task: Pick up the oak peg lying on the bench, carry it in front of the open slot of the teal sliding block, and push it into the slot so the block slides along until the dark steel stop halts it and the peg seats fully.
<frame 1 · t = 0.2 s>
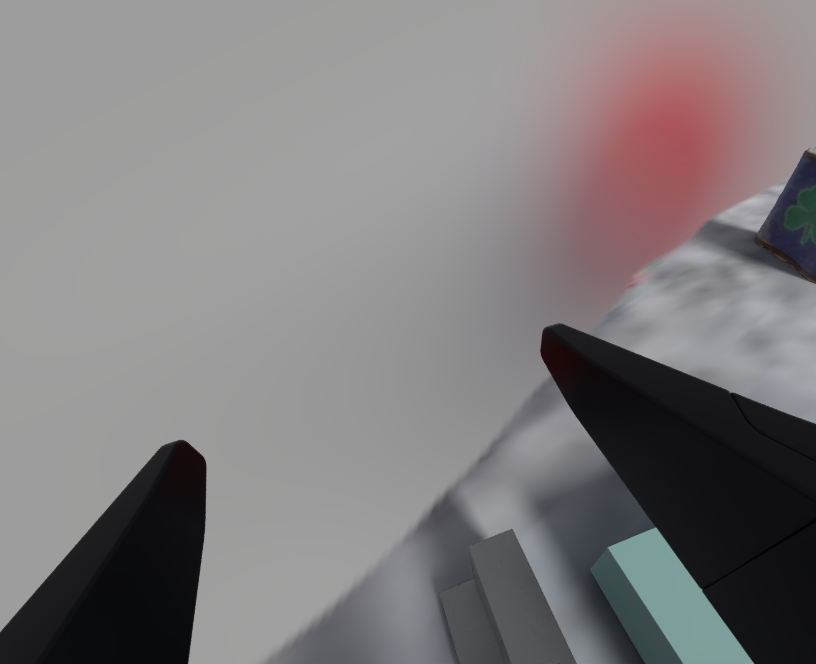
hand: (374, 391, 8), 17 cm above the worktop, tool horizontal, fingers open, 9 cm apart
flask: (794, 260, 32), on the worktop
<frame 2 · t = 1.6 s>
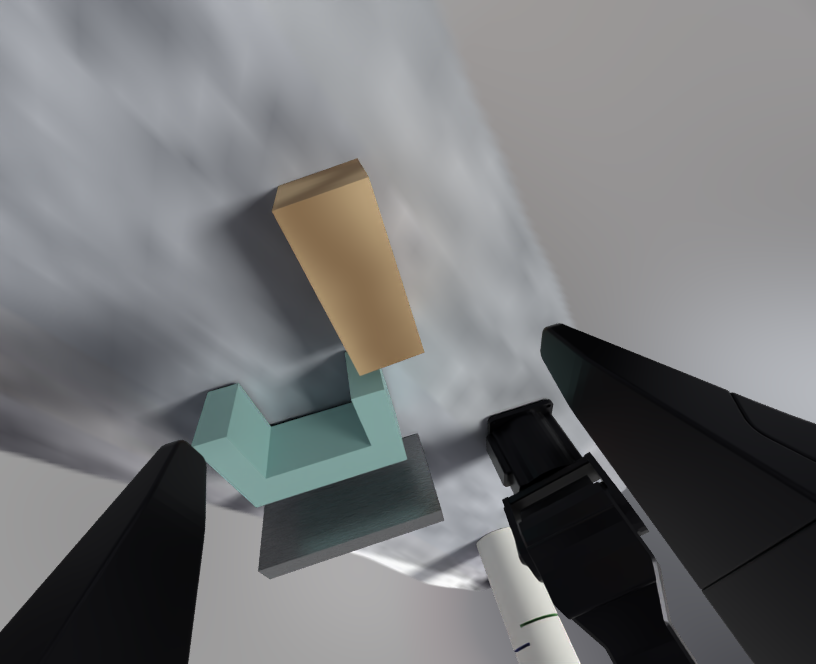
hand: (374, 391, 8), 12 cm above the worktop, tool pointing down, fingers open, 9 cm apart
slot block: (313, 427, 23), point 2 cm above the worktop, slide at 0.0 cm
oak peg: (354, 260, 19), on the worktop
steel stop: (347, 462, 31), on the worktop
cylindrical container: (497, 536, 53), on the worktop
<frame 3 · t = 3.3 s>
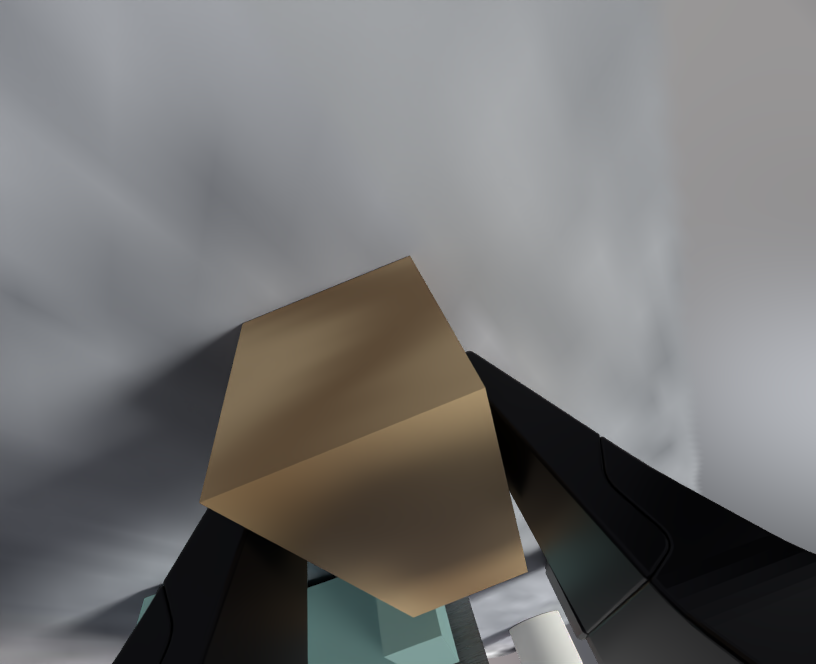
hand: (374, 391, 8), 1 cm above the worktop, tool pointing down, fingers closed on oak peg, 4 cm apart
slot block: (316, 632, 15), point 2 cm above the worktop, slide at 0.0 cm
oak peg: (396, 413, 11), on the worktop, touching gripper
steel stop: (362, 608, 22), on the worktop
cylindrical container: (533, 619, 45), on the worktop
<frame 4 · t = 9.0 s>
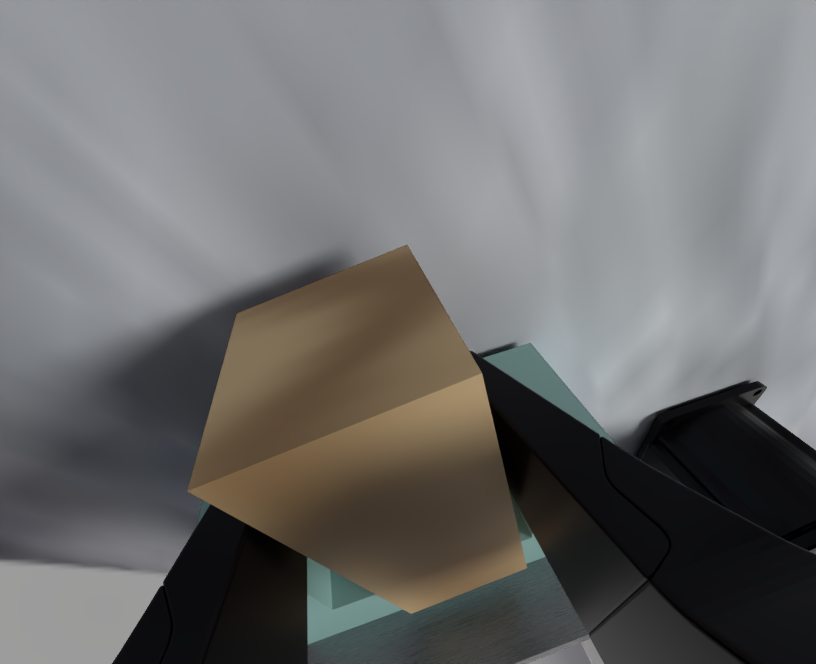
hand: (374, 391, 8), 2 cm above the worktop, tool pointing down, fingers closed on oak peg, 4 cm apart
slot block: (414, 500, 12), point 2 cm above the worktop, slide at 4.0 cm, touching oak peg, steel stop
oak peg: (394, 407, 10), point 1 cm above the worktop, touching gripper, slot block
steel stop: (418, 495, 17), on the worktop
when the fingers open (2 cm above the worktop, at t = 10.1 s): oak peg drops 2 cm, on the worktop.
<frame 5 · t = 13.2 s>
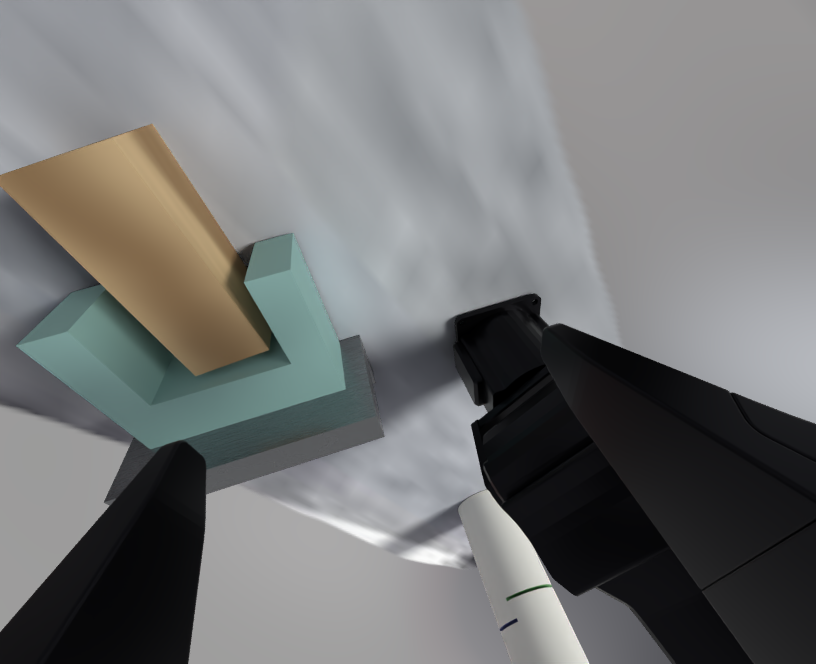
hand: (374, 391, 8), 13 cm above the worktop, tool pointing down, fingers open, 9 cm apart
slot block: (219, 344, 18), point 2 cm above the worktop, slide at 4.0 cm, touching steel stop
oak peg: (188, 245, 17), on the worktop
steel stop: (265, 374, 23), on the worktop
cylindrical container: (482, 501, 45), on the worktop
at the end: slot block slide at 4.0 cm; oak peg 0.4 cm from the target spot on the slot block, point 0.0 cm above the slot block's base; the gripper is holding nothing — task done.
